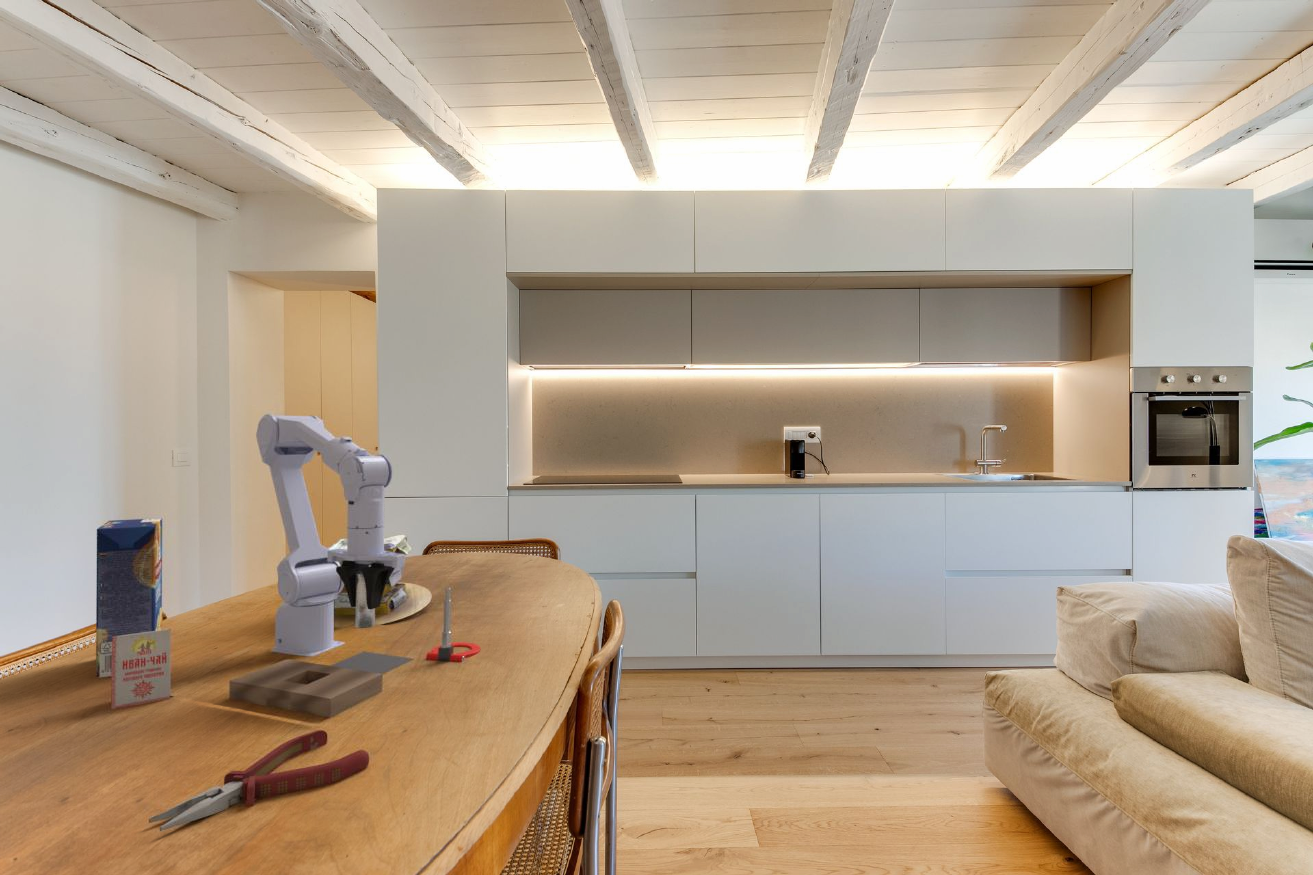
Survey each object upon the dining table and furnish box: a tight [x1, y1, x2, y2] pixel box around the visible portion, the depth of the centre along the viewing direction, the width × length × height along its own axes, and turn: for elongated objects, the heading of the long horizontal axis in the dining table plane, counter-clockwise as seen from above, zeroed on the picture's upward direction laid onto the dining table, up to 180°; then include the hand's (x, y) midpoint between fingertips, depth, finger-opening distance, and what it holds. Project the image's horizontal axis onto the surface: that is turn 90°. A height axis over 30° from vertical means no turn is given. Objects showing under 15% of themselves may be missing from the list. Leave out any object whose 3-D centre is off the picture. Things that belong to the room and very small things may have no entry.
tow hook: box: [425, 587, 481, 663], centre depth 119 cm, size 8×13×9 cm
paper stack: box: [326, 534, 433, 629], centre depth 146 cm, size 25×25×17 cm
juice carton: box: [95, 517, 163, 679], centre depth 113 cm, size 12×8×24 cm, turn 32°
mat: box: [329, 651, 414, 675], centre depth 111 cm, size 11×11×1 cm
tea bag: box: [110, 628, 172, 710], centre depth 97 cm, size 4×7×10 cm, turn 126°
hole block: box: [228, 659, 383, 719], centre depth 99 cm, size 19×10×3 cm, turn 71°
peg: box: [354, 571, 376, 629], centre depth 111 cm, size 3×3×9 cm
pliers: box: [148, 729, 370, 832], centre depth 74 cm, size 12×20×3 cm, turn 146°
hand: (365, 606), depth 111 cm, fingers closed on peg, 3 cm apart
